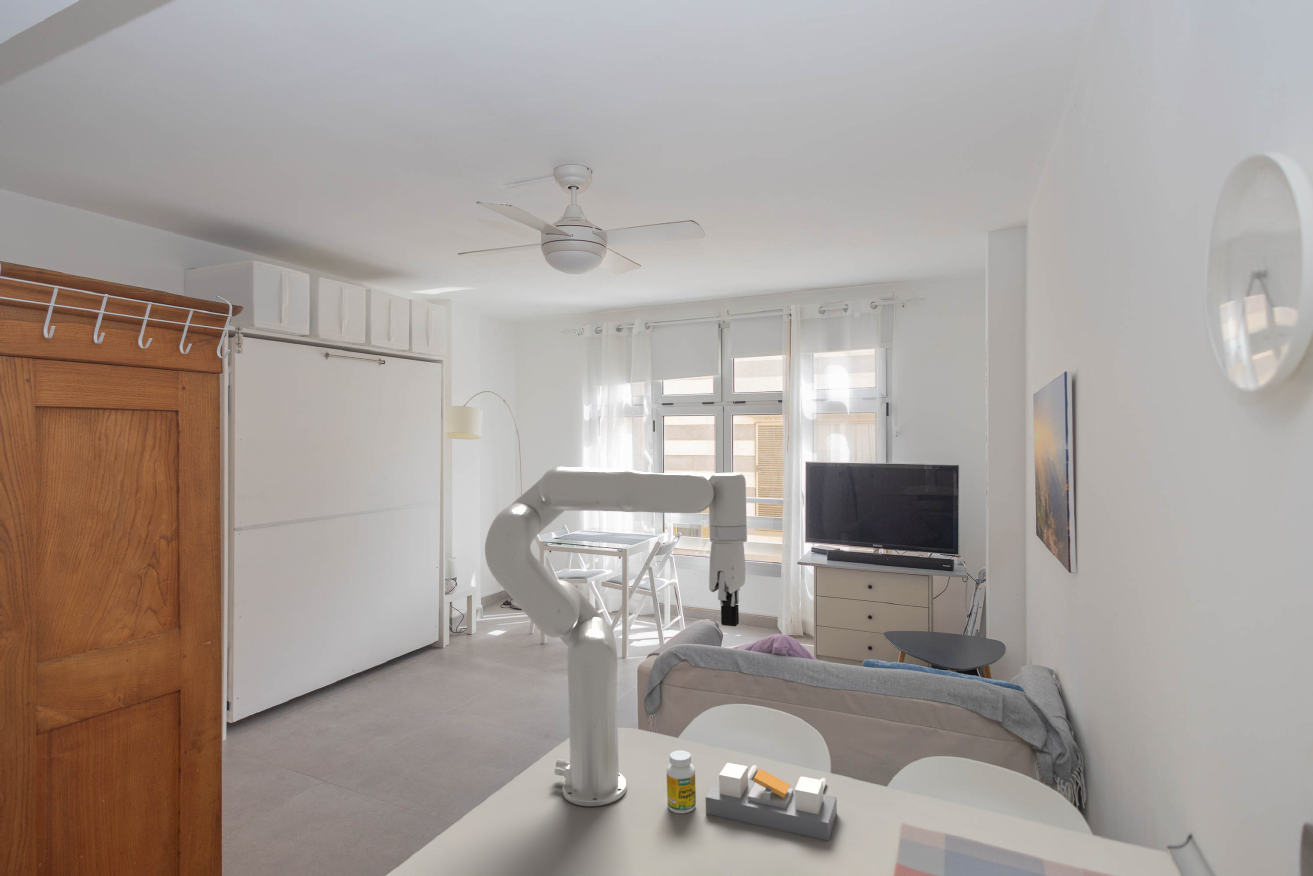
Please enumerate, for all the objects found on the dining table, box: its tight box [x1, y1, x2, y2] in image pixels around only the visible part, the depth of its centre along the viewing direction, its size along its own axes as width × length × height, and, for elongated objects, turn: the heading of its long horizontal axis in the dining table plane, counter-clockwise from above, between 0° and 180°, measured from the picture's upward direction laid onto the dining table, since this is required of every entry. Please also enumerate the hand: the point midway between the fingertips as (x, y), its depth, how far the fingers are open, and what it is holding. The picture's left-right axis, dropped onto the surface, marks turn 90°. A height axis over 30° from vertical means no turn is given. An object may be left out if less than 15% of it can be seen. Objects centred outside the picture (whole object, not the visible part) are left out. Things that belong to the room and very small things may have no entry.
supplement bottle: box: [666, 750, 697, 815], centre depth 122 cm, size 5×5×10 cm
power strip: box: [705, 762, 838, 842], centre depth 124 cm, size 22×19×6 cm
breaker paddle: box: [752, 768, 791, 798], centre depth 119 cm, size 6×4×1 cm, turn 66°
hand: (730, 624), depth 132 cm, fingers closed
